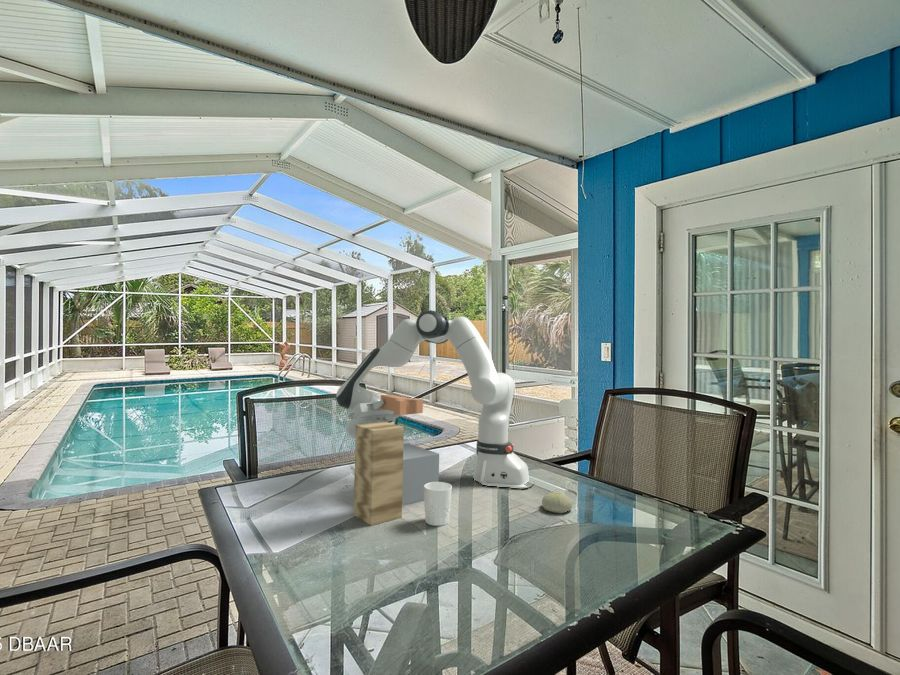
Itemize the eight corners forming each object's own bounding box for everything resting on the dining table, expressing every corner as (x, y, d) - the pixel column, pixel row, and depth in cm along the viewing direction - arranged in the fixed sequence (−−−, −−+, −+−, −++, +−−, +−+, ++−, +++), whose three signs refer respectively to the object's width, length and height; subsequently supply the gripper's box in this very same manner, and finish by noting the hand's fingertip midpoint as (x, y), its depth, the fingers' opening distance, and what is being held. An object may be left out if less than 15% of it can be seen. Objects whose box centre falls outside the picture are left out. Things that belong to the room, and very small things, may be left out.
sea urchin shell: (536, 505, 143) (542, 482, 148) (542, 518, 148) (547, 495, 153) (567, 511, 139) (572, 487, 144) (571, 524, 143) (576, 500, 148)
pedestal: (401, 517, 136) (403, 426, 136) (371, 525, 130) (373, 430, 130) (383, 507, 144) (385, 421, 144) (353, 514, 137) (355, 424, 137)
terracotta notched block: (422, 413, 157) (423, 399, 157) (399, 415, 151) (400, 401, 151) (396, 406, 169) (396, 393, 169) (374, 408, 163) (374, 395, 163)
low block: (438, 496, 154) (439, 453, 154) (399, 506, 145) (400, 460, 145) (407, 482, 168) (407, 443, 168) (369, 490, 159) (370, 448, 159)
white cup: (448, 528, 129) (448, 491, 129) (420, 525, 131) (420, 489, 131) (453, 517, 137) (454, 483, 137) (427, 515, 138) (427, 480, 138)
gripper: (344, 409, 168) (361, 394, 158) (393, 405, 181) (412, 390, 171) (348, 426, 165) (365, 411, 156) (397, 421, 178) (416, 407, 169)
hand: (390, 400), depth 164 cm, fingers closed on terracotta notched block, 4 cm apart
